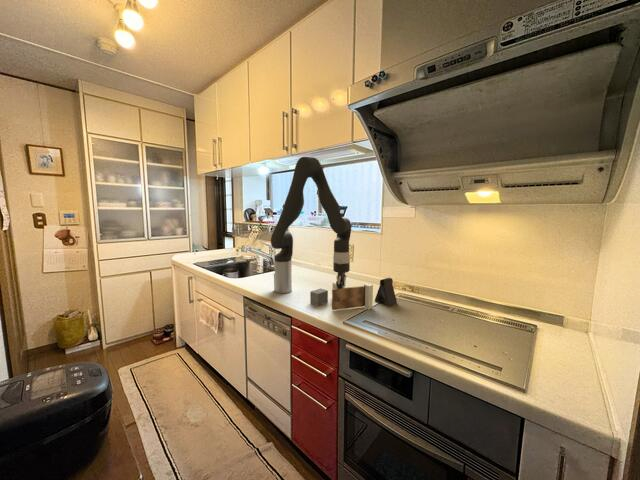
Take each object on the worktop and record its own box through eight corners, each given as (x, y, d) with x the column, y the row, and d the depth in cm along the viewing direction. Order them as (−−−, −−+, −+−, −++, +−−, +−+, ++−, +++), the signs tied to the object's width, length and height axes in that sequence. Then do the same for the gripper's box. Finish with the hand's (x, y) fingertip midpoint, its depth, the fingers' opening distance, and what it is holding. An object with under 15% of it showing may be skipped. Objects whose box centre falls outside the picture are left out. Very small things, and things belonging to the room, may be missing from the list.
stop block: (310, 303, 125) (310, 291, 124) (320, 299, 130) (320, 288, 129) (317, 306, 121) (317, 293, 120) (327, 302, 126) (327, 290, 125)
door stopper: (374, 301, 127) (375, 277, 126) (382, 298, 131) (383, 275, 130) (389, 306, 120) (390, 281, 119) (397, 304, 124) (398, 279, 122)
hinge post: (364, 308, 118) (365, 285, 117) (368, 306, 120) (369, 283, 119) (368, 309, 117) (369, 286, 115) (372, 307, 119) (372, 284, 117)
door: (333, 311, 113) (334, 289, 112) (331, 309, 116) (332, 287, 115) (367, 307, 118) (368, 286, 117) (365, 305, 121) (365, 284, 120)
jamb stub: (332, 297, 132) (332, 282, 131) (335, 296, 134) (335, 281, 133) (336, 298, 131) (336, 283, 130) (339, 297, 132) (339, 282, 131)
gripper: (336, 258, 126) (336, 292, 128) (330, 263, 113) (330, 301, 116) (351, 258, 124) (351, 293, 126) (347, 264, 111) (346, 303, 114)
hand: (341, 297), depth 121 cm, fingers closed
